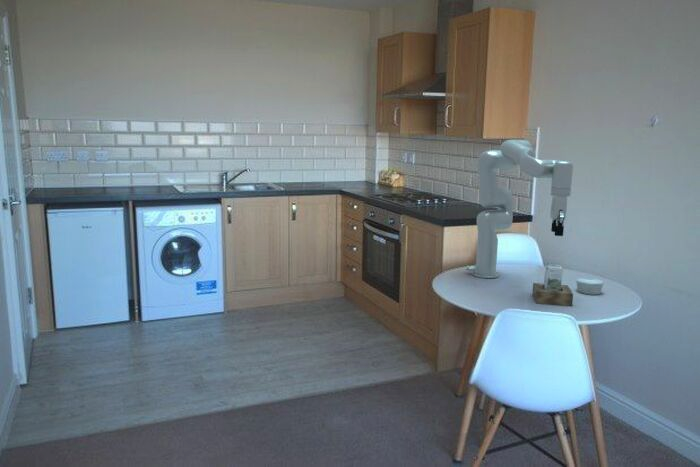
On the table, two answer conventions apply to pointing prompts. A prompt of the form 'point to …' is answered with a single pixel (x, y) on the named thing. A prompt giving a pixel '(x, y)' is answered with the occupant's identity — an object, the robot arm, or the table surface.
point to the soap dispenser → (553, 277)
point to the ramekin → (589, 286)
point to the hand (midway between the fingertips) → (556, 233)
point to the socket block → (552, 295)
